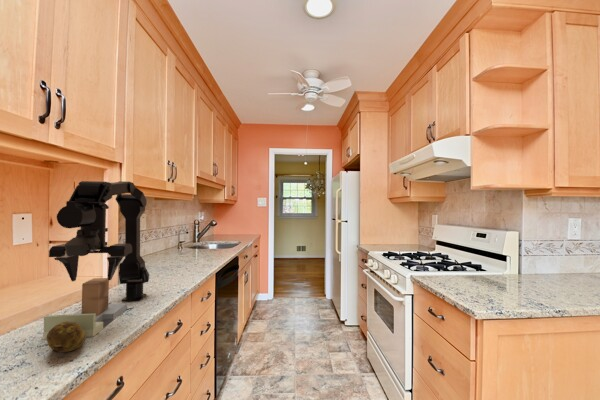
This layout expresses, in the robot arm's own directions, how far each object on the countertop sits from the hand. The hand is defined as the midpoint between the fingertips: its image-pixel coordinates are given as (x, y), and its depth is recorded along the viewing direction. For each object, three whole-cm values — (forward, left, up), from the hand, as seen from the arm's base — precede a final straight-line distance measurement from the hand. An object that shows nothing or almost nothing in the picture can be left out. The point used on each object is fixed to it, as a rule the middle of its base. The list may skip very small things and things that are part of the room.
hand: (91, 280), depth 78 cm
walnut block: (-10, -4, -13) cm, 17 cm away
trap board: (-7, -4, -15) cm, 17 cm away
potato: (+10, 0, -15) cm, 18 cm away
